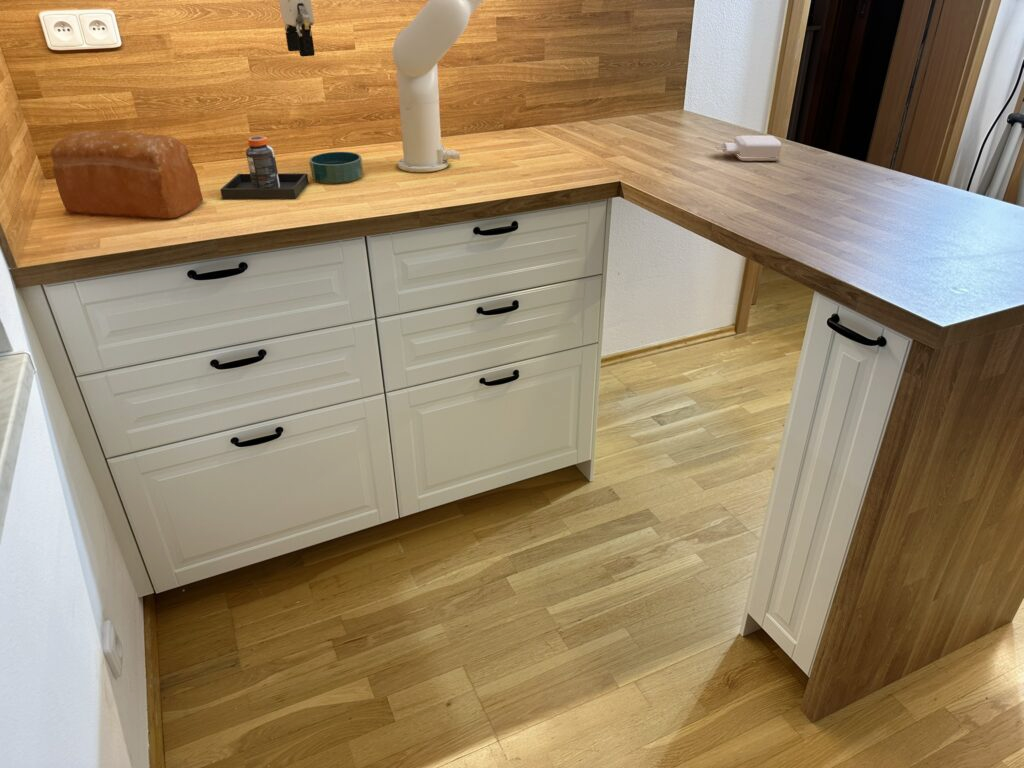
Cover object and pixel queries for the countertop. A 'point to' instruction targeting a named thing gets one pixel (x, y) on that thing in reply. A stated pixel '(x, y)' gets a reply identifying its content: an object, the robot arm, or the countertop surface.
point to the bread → (125, 174)
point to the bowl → (336, 167)
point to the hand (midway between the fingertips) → (301, 53)
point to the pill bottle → (262, 163)
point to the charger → (753, 148)
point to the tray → (244, 190)
